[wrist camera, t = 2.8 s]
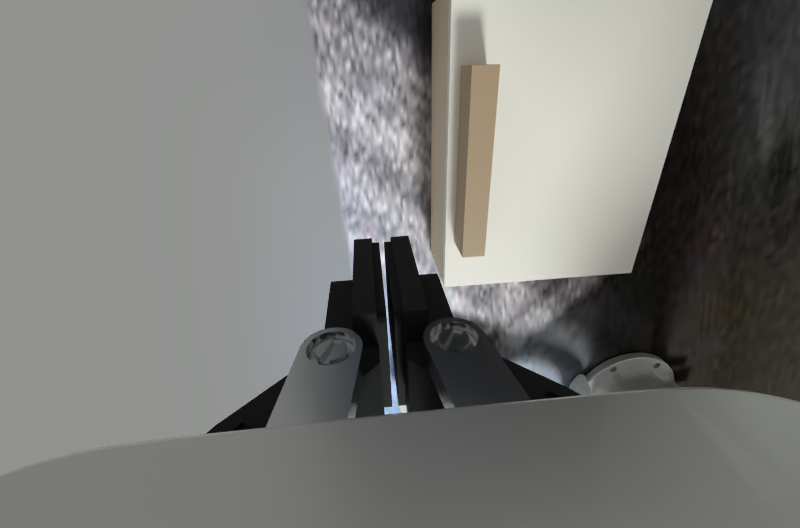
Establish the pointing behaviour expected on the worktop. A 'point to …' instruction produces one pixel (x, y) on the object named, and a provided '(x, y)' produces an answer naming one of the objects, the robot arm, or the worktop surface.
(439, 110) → the box
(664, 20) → the lid
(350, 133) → the worktop surface
